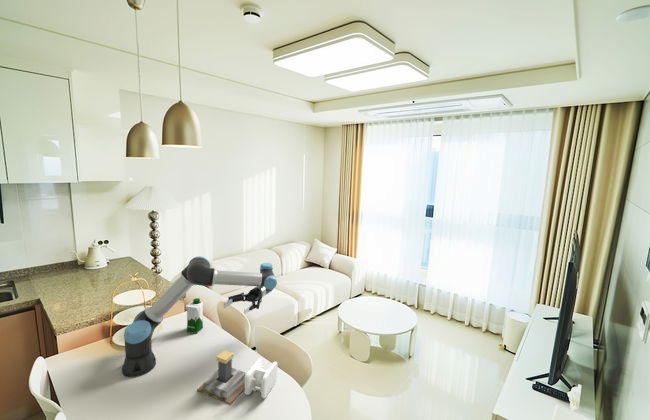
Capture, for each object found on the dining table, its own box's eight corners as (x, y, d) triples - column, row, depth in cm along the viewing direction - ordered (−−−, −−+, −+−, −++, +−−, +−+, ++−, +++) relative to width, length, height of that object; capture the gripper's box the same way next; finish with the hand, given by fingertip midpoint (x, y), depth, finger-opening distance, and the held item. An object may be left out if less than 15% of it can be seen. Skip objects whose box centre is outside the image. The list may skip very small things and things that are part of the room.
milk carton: (205, 327, 195) (204, 298, 192) (196, 334, 186) (196, 305, 183) (192, 325, 196) (192, 297, 193) (184, 332, 187) (183, 303, 184)
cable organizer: (263, 403, 136) (264, 380, 134) (243, 397, 139) (243, 375, 137) (277, 381, 150) (278, 360, 149) (258, 376, 153) (259, 355, 151)
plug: (216, 386, 143) (216, 356, 141) (224, 379, 149) (224, 350, 146) (225, 390, 141) (225, 360, 139) (233, 382, 147) (233, 353, 144)
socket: (196, 390, 141) (196, 381, 140) (219, 370, 156) (219, 361, 155) (230, 404, 134) (230, 395, 133) (251, 381, 149) (251, 373, 148)
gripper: (274, 303, 173) (253, 320, 153) (239, 295, 182) (215, 310, 162) (275, 291, 172) (254, 307, 152) (240, 283, 181) (215, 297, 161)
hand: (234, 308), depth 157 cm, fingers open, 13 cm apart
